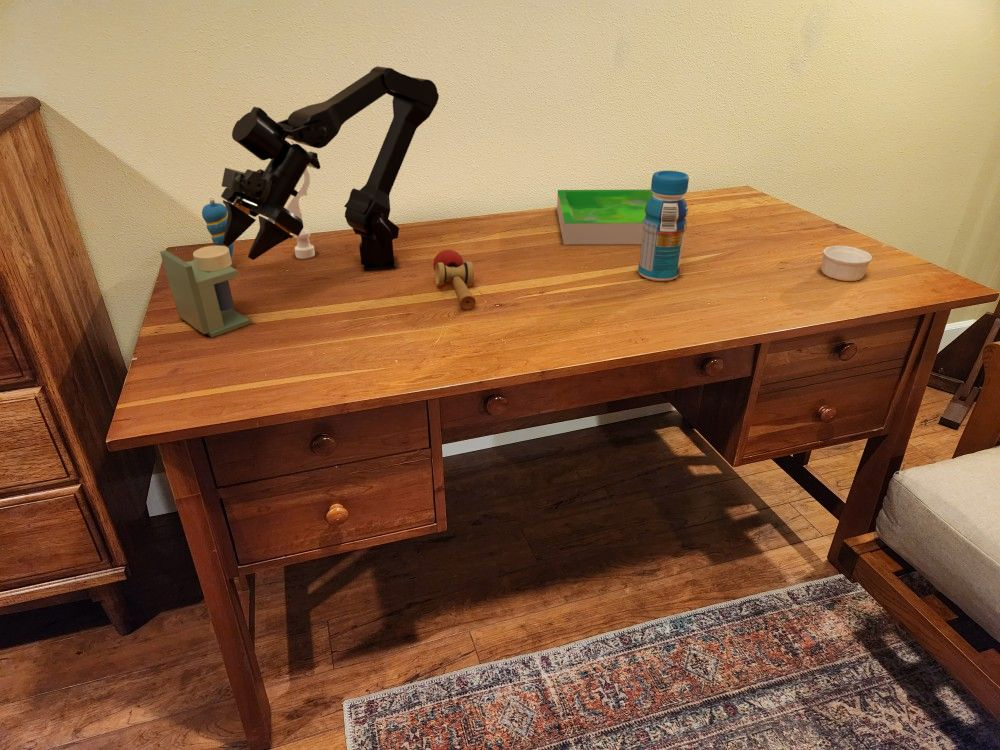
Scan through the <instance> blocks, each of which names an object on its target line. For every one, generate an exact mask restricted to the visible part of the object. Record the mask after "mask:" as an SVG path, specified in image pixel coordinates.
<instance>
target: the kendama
mask: <svg viewBox="0 0 1000 750" xmlns="http://www.w3.org/2000/svg"><path fill="white" fill-rule="evenodd" d="M432 263H433V264H432V266H433V269H434V281H435V284H436V285H437V286H440V287H441V286H444V285H445V284H446V283H447V282H452V284H453V288H454V292H455V294H456V297H457V300H458V303H459V306H460V308H461V309H463V310H466V311H469V310H471V309H473V308H474V307H475V305H476V298H475V296H474V295H473V293H471V291H470V289H469V287H472V286H473V284H474V281H475V269H474V264H473V262H472V261H464V259H463V256H462V255H461V254H460V253H459V252H457V251H456V250H452V249H444V250H441V251H440V252H438V253H437V254H436V255H435V257H434V259H433V262H432Z"/></svg>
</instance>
